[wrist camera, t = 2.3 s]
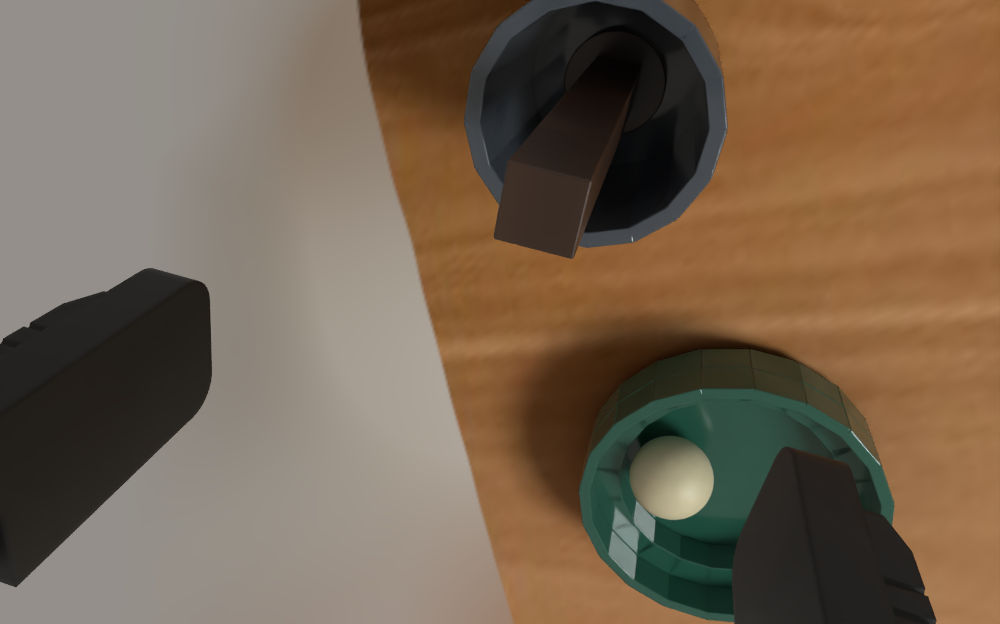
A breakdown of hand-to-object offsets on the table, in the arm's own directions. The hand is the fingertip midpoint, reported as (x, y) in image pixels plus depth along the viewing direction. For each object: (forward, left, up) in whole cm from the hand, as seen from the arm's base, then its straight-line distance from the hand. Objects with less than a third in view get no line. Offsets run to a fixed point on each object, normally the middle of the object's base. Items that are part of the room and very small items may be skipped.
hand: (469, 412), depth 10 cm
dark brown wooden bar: (0, 0, -26) cm, 26 cm away
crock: (0, 0, -27) cm, 27 cm away
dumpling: (+7, -19, -24) cm, 32 cm away
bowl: (+11, -19, -27) cm, 35 cm away
